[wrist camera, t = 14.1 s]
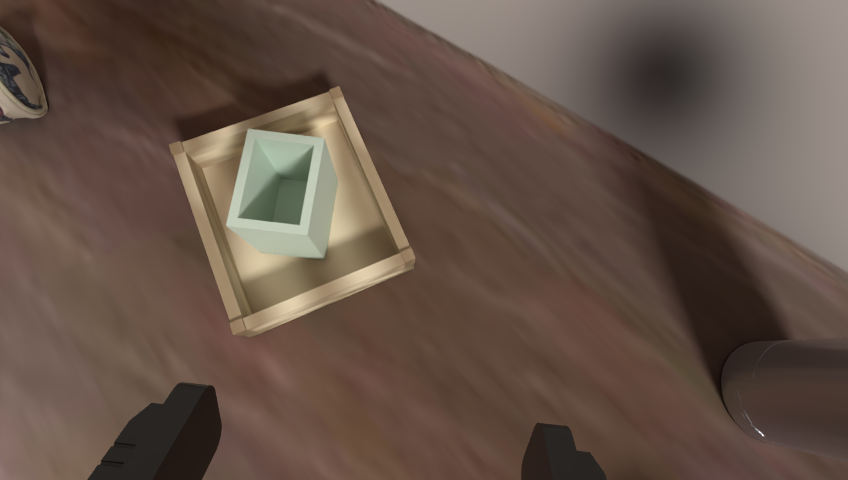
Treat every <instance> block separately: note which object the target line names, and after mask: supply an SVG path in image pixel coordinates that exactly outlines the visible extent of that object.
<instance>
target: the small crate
mask: <svg viewBox="0 0 848 480" xmlns="http://www.w3.org/2000/svg"><path fill="white" fill-rule="evenodd" d="M337 187H338V179H337V175H336V172H335V169H334V166H333V163H332V160H331V157H330V154H329V150H328V147H327V144H326V141H325V138H319V137H311V136H303V135H295V134H287V133H279V132H271V131H263V130H255V129H248V131H247V135H246V140H245V144H244V149H243V153H242V157H241V162H240V166H239V171H238V175H237V179H236V184H235V188H234V193H233V197H232V201H231V206H230V210H229V214H228V219H227V223H226V226H227V227H228V228H229V229H231V230H232V231H233V232H235V233H236V234H237V235H238V236H240V237H241V238H242V239H244V240H245V241H246V242H247V243H249V244H250V245H251V246H253V247H254V248H255V249H256V250H258V251H259V252H260V253H265V254H274V255H283V256H291V257H300V258H309V259H318V260H326V254H327V248H328V241H329V235H330V229H331V223H332V217H333V211H334V205H335V199H336V193H337Z"/></svg>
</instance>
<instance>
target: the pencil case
mask: <svg viewBox="0 0 848 480" xmlns="http://www.w3.org/2000/svg"><path fill="white" fill-rule="evenodd" d="M47 111H48V106H47V102H46V97H45V94H44V90H43V87H42V84H41V81H40V78H39V76H38V74H37V72H36V70H35V68H34V66H33V64H32V62H31V60H30V59H29V57H28V56H27V54H26V53H25V52H24V50H23V49H22V48H21V46H20V45H19V44H18V43H17V42H16V41H15V40H14V39H13V37H12V36H11V35H10V34H9V33H8V32H7V31H6V30H4V29H3V28H2V27H0V125H1V124H4V123H8V122H12V121H14V120H15V119H16V118H25V117H26V118H33V119H34V118H40V117H42V116H44V115H45V114H46V113H47Z"/></svg>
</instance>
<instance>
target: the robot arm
mask: <svg viewBox="0 0 848 480" xmlns="http://www.w3.org/2000/svg"><path fill="white" fill-rule="evenodd" d="M721 390H722V395H723V399H724V403H725V405H726V407H727V409H728V411H729V413H730V415H731V416H732V418H733V419H734V421H735V422H736V423H737V424H738V425H739V426H740V427H741V428H742V429H743V430H744V431H745V432H746V433H748V434H749V435H751V436H752V437H753V438H756V439H758V440H760V441H762V442H766V443H770V444H775V445H779V446H783V447H787V448H791V449H796V450H800V451H803V452H807V453H812V454H816V455H820V456H824V457H829V458H833V459H837V460H842V461H846V462H848V338H831V339H806V340H778V341H755V342H750V343H746V344H744V345H742V346H740V347H738V348H737V349H736V350H735V351H733V352H732V353H731V354H730V356H729V357H728V359H727V360H726V362H725V365H724V367H723V370H722V377H721ZM221 429H222V425H221V419H220V413H219V408H218V403H217V397H216V392H215V388H214V387H213V386H211V385H202V384H193V383H184V382H181V383H179V384H178V385H176V387H175V388H174V389H173V390H172V392H171V393H170V395H169V396H168V398H167V399H166V401H165V402H164V404H157V403H151V404H150V405H149V406H147V407H146V408H145V409H144V410H142V411H141V412H140V413H139V414H137V415H136V416H135V417H134V418H132V419H131V420H130V421H129V422H128V424H127V425H126V426H125V428H124V429H123V431H122V432H121V433H120V435H119V436H118V438H117V439H116V440H115V442H114V446H113V447H110V449H109V450H108V452H107V453H106V454H105V456H104V457H103V459H102V460H101V464H100V465H98V466H97V467H96V468H95V470H94V471H93V473H92V474H91V475H90V477H89V478H88V480H202V478H203V476H204V474H205V472H206V470H207V468H208V466H209V464H210V462H211V460H212V458H213V456H214V454H215V452H216V449H217V447H218V444H219V440H220V436H221ZM521 480H607V479H606V476H605V473H604V472H603V471H602V469H601V468H600V466H599V465H598V463H597V462H596V460H595V459H594V458H593V456H592V455H591V453H590V452H582V451H577V450H576V447H575V443H574V439H573V436H572V433H571V430H570V429H569V427H567V426H561V425H552V424H543V423H537V424H536V425H535V427H534V430H533V433H532V436H531V438H530V441H529V444H528V446H527V449H526V452H525V455H524V458H523V461H522V470H521Z"/></svg>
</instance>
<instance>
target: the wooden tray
mask: <svg viewBox="0 0 848 480" xmlns="http://www.w3.org/2000/svg"><path fill="white" fill-rule="evenodd" d="M248 129H255V130H263V131H271V132H279V133H287V134H295V135H303V136H311V137H319V138H325V141H326V144H327V147H328V150H329V154H330V157H331V160H332V163H333V166H334V169H335V172H336V175H337V179H338V187H337V193H336V199H335V205H334V211H333V217H332V223H331V229H330V235H329V241H328V248H327V254H326V260H318V259H309V258H300V257H291V256H283V255H274V254H265V253H260V252H259V251H258V250H256V249H255V248H254V247H253V246H251V245H250V244H249V243H247V242H246V241H245V240H244V239H242V238H241V237H240V236H238V235H237V234H236V233H235V232H233V231H232V230H231V229H229V228H228V227H227V226H226V223H227V219H228V214H229V210H230V206H231V201H232V197H233V193H234V188H235V184H236V179H237V175H238V171H239V166H240V162H241V157H242V153H243V149H244V144H245V140H246V135H247V131H248ZM169 147H170V150H171V153H172V155H173V156H174V158H175V161H176V164H177V167H178V170H179V173H180V176H181V179H182V182H183V185H184V188H185V191H186V194H187V197H188V200H189V202H190V205H191V208H192V211H193V214H194V217H195V220H196V223H197V226H198V229H199V232H200V235H201V238H202V241H203V244H204V246H205V249H206V252H207V255H208V258H209V261H210V264H211V267H212V270H213V273H214V276H215V279H216V282H217V285H218V288H219V290H220V293H221V296H222V299H223V302H224V305H225V308H226V311H227V314H228V317H229V320H230V326H231V329H232V332H233V335H239V336H247V337H253V336H256V335H258V334H260V333H263V332H265V331H267V330H270V329H272V328H275V327H277V326H279V325H282V324H284V323H286V322H289V321H291V320H293V319H296V318H298V317H300V316H303V315H305V314H308V313H310V312H312V311H315V310H317V309H319V308H322V307H324V306H326V305H329V304H331V303H333V302H336V301H338V300H341V299H343V298H345V297H348V296H350V295H352V294H355V293H357V292H359V291H362V290H364V289H366V288H369V287H371V286H374V285H376V284H378V283H381V282H383V281H385V280H388V279H390V278H392V277H395V276H397V275H399V274H402V273H404V272H407V271H409V270H411V269H413V268H414V263H415V259H416V258H415V255H414V253H413V251H412V249H411V248H410V245H409V243H408V241H407V239H406V236H405V234H404V232H403V230H402V227H401V225H400V223H399V221H398V218H397V216H396V214H395V212H394V209H393V207H392V205H391V203H390V201H389V198H388V196H387V194H386V192H385V189H384V187H383V185H382V183H381V180H380V178H379V176H378V174H377V171H376V169H375V167H374V165H373V162H372V160H371V158H370V156H369V153H368V151H367V149H366V147H365V145H364V142H363V140H362V138H361V136H360V133H359V131H358V129H357V127H356V124H355V122H354V120H353V118H352V115H351V113H350V111H349V109H348V106H347V104H346V102H345V100H344V97H343V94H342V92H341V90H340V88H339V86H338V87H336V88H333V89H330V90H329V92H327V93H324V94H321V95H318V96H315V97H312V98H309V99H306V100H303V101H301V102H298V103H295V104H292V105H289V106H286V107H283V108H280V109H277V110H274V111H272V112H269V113H266V114H263V115H260V116H257V117H254V118H251V119H248V120H245V121H242V122H240V123H237V124H234V125H231V126H228V127H225V128H222V129H219V130H216V131H213V132H211V133H208V134H205V135H202V136H199V137H196V138H193V139H190V140H187V141H184V142H181V141H178V142H175V143H172V144H170V145H169Z"/></svg>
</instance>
